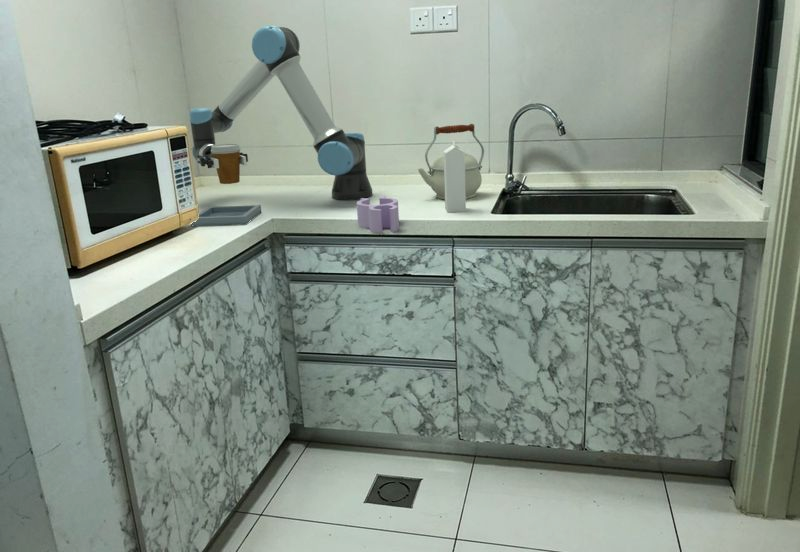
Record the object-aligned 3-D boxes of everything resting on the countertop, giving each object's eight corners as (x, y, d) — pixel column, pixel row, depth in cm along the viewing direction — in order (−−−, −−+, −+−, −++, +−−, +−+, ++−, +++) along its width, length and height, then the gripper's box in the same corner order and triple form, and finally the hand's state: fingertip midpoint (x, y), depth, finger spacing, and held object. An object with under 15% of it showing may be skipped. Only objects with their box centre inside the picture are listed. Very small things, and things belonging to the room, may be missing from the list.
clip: (408, 231, 190) (407, 207, 187) (365, 235, 187) (364, 211, 185) (393, 217, 208) (392, 195, 206) (354, 220, 206) (353, 199, 204)
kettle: (473, 189, 246) (472, 121, 239) (495, 197, 230) (494, 124, 222) (410, 196, 239) (407, 126, 232) (428, 205, 223) (425, 130, 215)
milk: (463, 208, 216) (462, 139, 209) (465, 211, 210) (465, 141, 203) (444, 208, 215) (443, 140, 209) (446, 212, 210) (445, 142, 203)
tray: (261, 212, 225) (260, 204, 224) (246, 224, 207) (245, 216, 207) (210, 214, 226) (209, 206, 225) (190, 226, 209) (189, 218, 208)
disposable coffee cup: (250, 180, 217) (246, 144, 213) (228, 185, 209) (224, 147, 206) (230, 179, 222) (226, 143, 218) (208, 183, 214) (203, 146, 211)
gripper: (243, 163, 234) (264, 170, 215) (183, 169, 225) (199, 178, 206) (241, 142, 232) (261, 147, 213) (180, 147, 222) (196, 153, 203)
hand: (231, 162), depth 209 cm, fingers closed on disposable coffee cup, 8 cm apart
